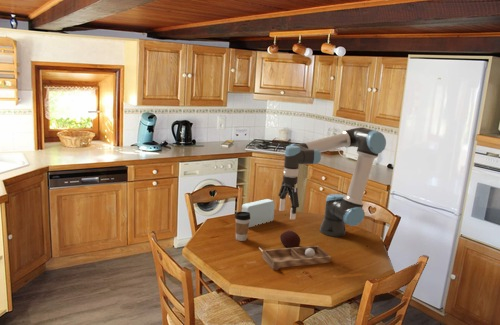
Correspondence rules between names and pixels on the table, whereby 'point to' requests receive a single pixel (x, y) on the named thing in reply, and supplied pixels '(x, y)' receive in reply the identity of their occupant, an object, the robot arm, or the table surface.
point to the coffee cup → (242, 225)
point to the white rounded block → (259, 211)
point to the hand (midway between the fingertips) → (287, 214)
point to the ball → (309, 253)
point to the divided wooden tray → (294, 257)
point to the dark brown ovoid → (290, 239)
